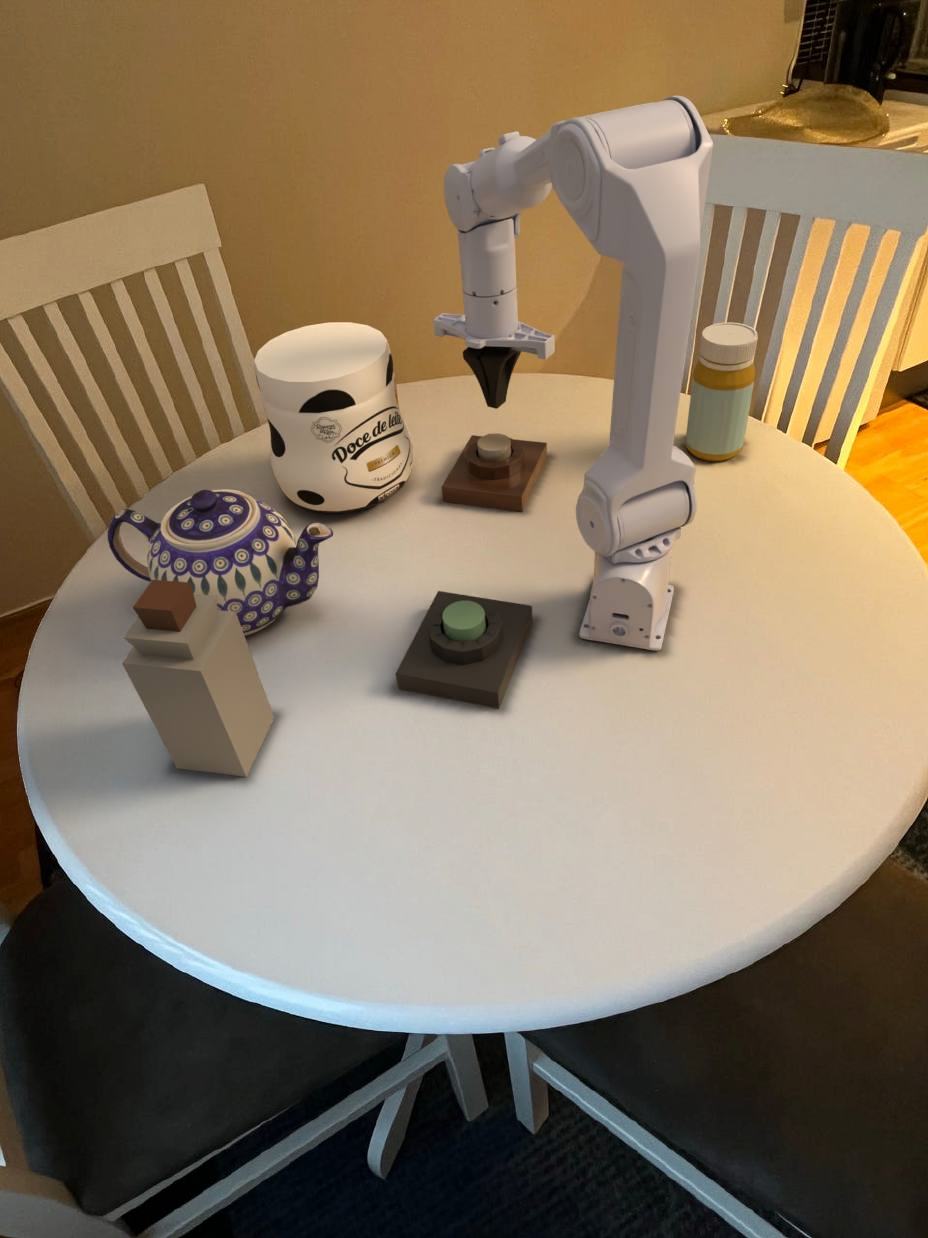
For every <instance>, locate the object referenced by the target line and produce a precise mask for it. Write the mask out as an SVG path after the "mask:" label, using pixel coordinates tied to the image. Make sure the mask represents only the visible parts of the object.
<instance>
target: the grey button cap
mask: <svg viewBox="0 0 928 1238" xmlns="http://www.w3.org/2000/svg"><path fill="white" fill-rule="evenodd" d="M482 436H483V437H481V438H480V439H479V440H478V456H479V458H480V459H481V460H483V461H489V462H497V461H503V460H505V459H507V458H509V457H510V456H511V440H510V438H511V437H509V435H506V434H503V433H498V432H497V433H495V432H493V433H488V434H485V435H482Z"/></svg>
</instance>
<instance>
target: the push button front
mask: <svg viewBox="0 0 928 1238" xmlns="http://www.w3.org/2000/svg"><path fill="white" fill-rule="evenodd" d="M458 601H472V602H475V603H477V604H479V605H480V606H481V607H482V608H483V609H484V612H485V623H486V629H485V632H484V633H483V635H482V636H480V637H479V638H477V639H476V640H472V641H467V642H459V641H453V640H451V639H449V638H448V637H447V636H446V634H445V632H444V627H443V619H442V615H443V612H444V610H445V609H446V608H447V607H448V606H449V605H450V604H452V603H455V602H458ZM533 621H534V620H533V605H531V604H526V603H525V604H524V603H517V602H511V601H505V600H498V599H493V598H488V597H487V598H486V597H480V596H475V595H473V596H472V595H467V594H460V593H455V592H447V591H442V590H438V591H437V592H436V594H435V597H434V598H433V600H432V602H431V604H430V605H429V608H428V610H427V612H426V613H425V616H424V617H423V619H422V621H421V623H420V625H419V627H418V629H417V630H416V633H415V635H414V637H413V638H412V641H411V643H410V644H409V646H408V648H407V650H406V652H405V654H404V656H403V658H402V660H401V662H400V663H399V666H398V668H397V669H396V672H395V678H396V682H397V688H398V690H402V691H408V692H413V693H417V694H423V695H427V696H431V697H432V696H433V697H439V698H444V699H449V700H453V701H459V702H464V703H469V704H473V705H479V706H484V707H490V708H494V709H500V708H501V706H502V703H503V699H504V697H505V695H506V692H507V689H508V686H509V684H510V682H511V679H512V677H513V674H514V671H515V668H516V666H517V663H518V661H519V659H520V655H521V653H522V650H523V648H524V645H525V642H526V640H527V638H528V635H529V633H530V629H531V627H532V625H533Z"/></svg>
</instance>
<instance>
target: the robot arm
mask: <svg viewBox="0 0 928 1238" xmlns="http://www.w3.org/2000/svg"><path fill="white" fill-rule="evenodd" d="M498 145H499V146H497V147H489V148H484V149H482V150H480V151H479V153H478V158H477V159H476V160H475V161H469V162H466V163H461V164H460V163H452V164H450V165H449V166H448V168H447V170H446V171H445V174H444V178H443V197H444V203H445V207H446V211H447V214H448V216H449V219H450V221H451V223H452V225H453V226H454V227H455V229H457V241H458V253H459V264H460V277H461V288H462V290H461V291H462V302H463V312H464V313H463V314H455V313H454V314H453V313H447V312H442V313H441V314H439V315H437V316H436V317H434V319H432V322H433V331H434V332H433V333H434V336H435V337H438V338H444V337H445V336H449V337H453V338H457V339H462V340H464V342H465V346H466V348H465V349H464V350H462V359H463V360H464V361H465V362H466V364H467V365H468V366H469V368H470V369H471V371H472V372H473V374H474V376H475V378H476V380H477V382H478V384H479V387H480V389H481V392H482V395H483V398H484V400H485V404H486V406H487V407H488V408H491V409H495V410H497V409H499V408H500V407H501V406H502V405H504V404H505V403H506V401H507V397H508V396H507V395H508V389H509V385H510V381H511V379H512V378H511V377H512V375H513V373H514V372H513V371H514V369H515V366H516V364H517V361H518V359H519V357H520V355H521V353H527V354H530V355H536V356H537V359H540V360H543V361H546V360H547V359H549V358H550V357H551V356H552V355H553V354H555V353H556V352H555V351H556V350H555V346H556V345H555V344H556V343H555V335H554V334H549V333H546V332H543V331H541V330H539V329H537V328H535V327H532V326H530V325H528V324H526V323H524V322H521V321H519V314H518V313H519V312H518V311H519V310H518V287H517V286H518V284H517V261H516V259H517V257H516V239H518V237H519V235H520V234H521V217H522V214H523V213H524V211H528V210H530V209H532V208H535V207H537V206H538V205H540V204H541V203H543V202H544V201H545V199H547V198H548V196H549V194H550V192H551V190H553V191H554V192H555V194H556V197H557V198H558V200H559V202H560V203H561V204H562V206H563V208H564V209H565V210H566V212H567V214H568V215H569V216H570V217H571V219H572V220H573V222H574V223H575V224H576V226H577V227H578V228H579V230H580V231H581V233H582V234H583V235H584V237H585V238H586V239H587V241H588V242H589V243H590V245H591V247H593V249H594V251H596V253H597V254H598V255H600V256H603V257H607V258H609V259H613V260H616V261H617V262H618V264H620V267H621V283H620V294H619V295H620V296H619V309H618V321H617V322H618V323H617V335H616V348H615V362H614V374H613V387H612V388H613V389H612V402H611V416H610V428H609V442H608V446H607V448H606V449H605V450H604V452H602V454H601V455H600V456H599V457H598V458H597V459H596V460H595V461H594V462H593V463H592V464H591V465H590V467H588V469H587V470H586V471H585V472H584V474H583V486H582V489H581V492H580V493H579V495H578V497H577V502H576V505H575V518H576V519H575V520H576V523H577V527H578V530H579V533H580V534H581V535H580V536H581V537H582V539H583V540H584V542H585V543H586V545H587V546H588V547H589V548H590V549H591V550H592V551H594V562H593V563H594V565H593V582H592V585H591V589H590V594H589V595H590V596H589V598H590V599H589V601H588V604H587V607H586V609H585V613H584V616H583V619H582V622H581V625H580V627H579V633H578V636H579V638H580V639H584V640H589V641H595V642H600V643H607V644H614V645H620V646H625V647H631V648H636V649H637V648H638V649H643V650H649V651H655V652H657V651H658V652H659V651H660V650H662V647H663V642H664V637H665V634H666V633H665V632H666V629H667V626H668V625H667V624H668V620H669V615H670V610H671V607H672V606H671V605H672V602H673V597H674V592H675V587H674V586H673V585H671V584H669V581H670V571H671V564H672V554H673V546H674V543H675V542H676V541H677V540H679V539H681V532H682V528H684V527H687V526H688V525H690V524H691V523H692V522H693V521H694V520H695V518H696V514H697V508H698V494H697V490H696V485H695V484H696V483H695V479H696V471H697V467H696V466H695V464H694V463H693V461H692V460H691V458H690V457H689V455H687V454H686V453H685V452H684V451H683V450H682V449H680V448H679V447H677V446H676V445H674V442H675V434H676V428H677V420H678V414H679V406H680V399H681V391H682V385H683V377H684V372H685V371H684V370H685V363H686V356H687V349H688V341H689V334H690V328H691V321H692V313H693V306H694V300H695V291H696V285H697V278H698V277H697V276H698V270H699V263H700V255H701V227H702V226H703V222H704V214H705V208H706V200H707V194H708V193H707V192H708V186H709V185H708V184H709V177H710V170H711V164H712V157H713V150H714V142H713V139H712V138H711V135H710V134H709V132H708V130H707V127H706V126H705V123H704V121H703V119H702V117H701V115H700V112H699V110H698V109H697V108H696V106H695V105H694V104H693V102H692V101H691V100H690V99H689V98H687V97H685V96H682V95H671V96H668V97H666V98H664V99H662V100H660V101H655V102H654V101H652V102H646V103H641V104H636V105H630V106H626V107H620V108H616V109H611V110H606V111H605V110H604V111H601V112H596V113H592V114H587V115H583V116H575V117H571V118H567V119H564V120H560V121H557V122H554V123H552V125H551V129H550V130H548V131H547V132H545V133H544V134H543V135H541V136H540V137H538V138H537V139H536V138H534V137H531V136H527V135H520V132H519V131H518V130H517V131H513V132H512V131H511V132H507V133H504V134H502V135H500V136H499V137H498Z"/></svg>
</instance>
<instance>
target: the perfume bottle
mask: <svg viewBox="0 0 928 1238" xmlns="http://www.w3.org/2000/svg"><path fill="white" fill-rule="evenodd" d="M132 609H133V610H134V612H135V613H136V615H137V618H136V619H135V620H134V622H133V624H132V625H131V626H130V627H129V629H128V630H127V632H125V635H124V636H123V638H124V639H125V640H126V641H127V642H128V643H129V644H130V645H131V646H132V647H131V649H130V651H129V652H128V654H127V655H126V657H125V658H124V660H122V663H121V664H122V666H123V668H124V670H125V672H126V674H127V676H128V678H129V679H130V682H131V683H132V685H133V688H134V689H135V691H136V693H137V695H138V697H139V699H140V701H141V702H142V704H143V706H144V708H145V710H146V713H147V714H148V716H149V718H150V720H151V722H152V723H153V725H154V727H155V729H156V731H157V733H158V735H159V737H160V739H161V741H162V743H163V745H164V747H165V748H166V751H167V752H168V755H169V756H170V759H171V760H172V762H173V764H174V766H175V768H176V769H181V770H188V771H198V772H204V773H211V774H219V775H220V774H221V775H226V776H227V775H228V776H234V777H244V778H247V776H248V775H249V773H250V771H251V768H252V766H253V764H254V763H255V761H256V758H257V756H258V754H259V752H260V750H261V747H262V746H263V743H264V742H265V739H266V737H267V735H268V733H269V730H270V728H271V727H272V725H273V722H274V721H275V715H274V713H273V711H272V708H271V705H270V702H269V698H268V697H267V694H266V690H265V688H264V686H263V683H262V680H261V677H260V674H259V672H258V669H257V667H256V663H255V661H254V658H253V656H252V652H251V650H250V648H249V645H248V642H247V639H246V637H245V636H244V633H243V631H242V628H241V625H240V622H239V620H238V617H237V614H236V612H233V611H221V610H217V596H209V595H197V594H193V591H192V587H191V583H189V582H176V581H163V580H152V581H151V582H150V583H149V584H148V585H147V587H146V588H145V590H143V592H142V593H141V595H140V596H139V598H138V599H137V601H136V602H135V603H134V605H133V606H132Z"/></svg>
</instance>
